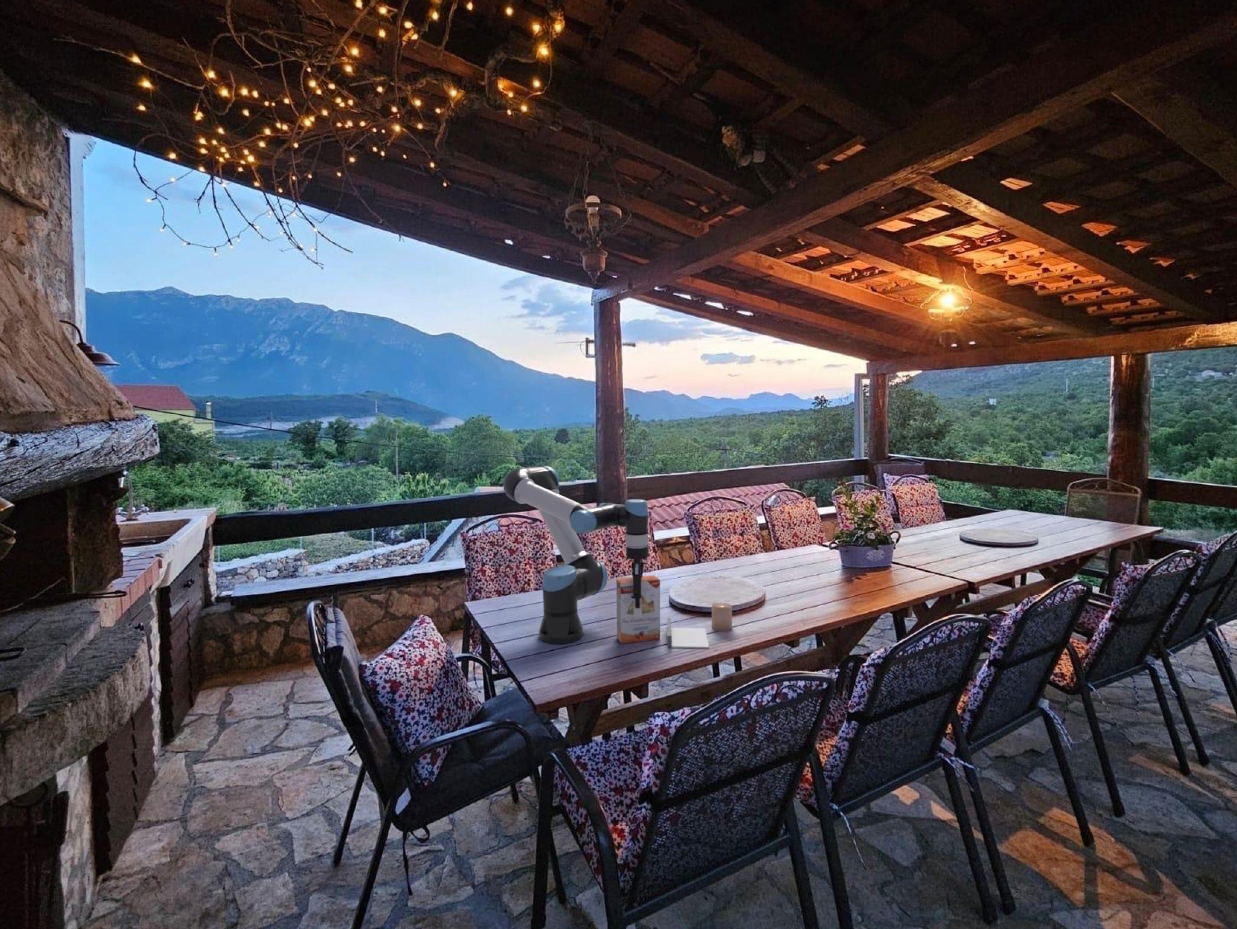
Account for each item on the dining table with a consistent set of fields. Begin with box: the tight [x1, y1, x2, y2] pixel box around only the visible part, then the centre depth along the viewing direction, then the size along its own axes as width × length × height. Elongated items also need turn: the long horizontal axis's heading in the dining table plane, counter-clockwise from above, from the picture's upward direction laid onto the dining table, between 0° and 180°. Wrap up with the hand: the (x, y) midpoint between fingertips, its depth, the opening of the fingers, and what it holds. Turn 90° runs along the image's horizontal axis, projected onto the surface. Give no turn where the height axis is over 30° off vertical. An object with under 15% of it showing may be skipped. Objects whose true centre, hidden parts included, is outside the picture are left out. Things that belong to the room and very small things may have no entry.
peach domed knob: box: [711, 602, 733, 633], centre depth 195 cm, size 7×7×8 cm
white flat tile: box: [666, 617, 710, 649], centre depth 186 cm, size 13×16×4 cm
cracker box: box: [615, 575, 661, 645], centre depth 186 cm, size 14×6×21 cm, turn 105°
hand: (638, 612), depth 186 cm, fingers closed on cracker box, 7 cm apart
